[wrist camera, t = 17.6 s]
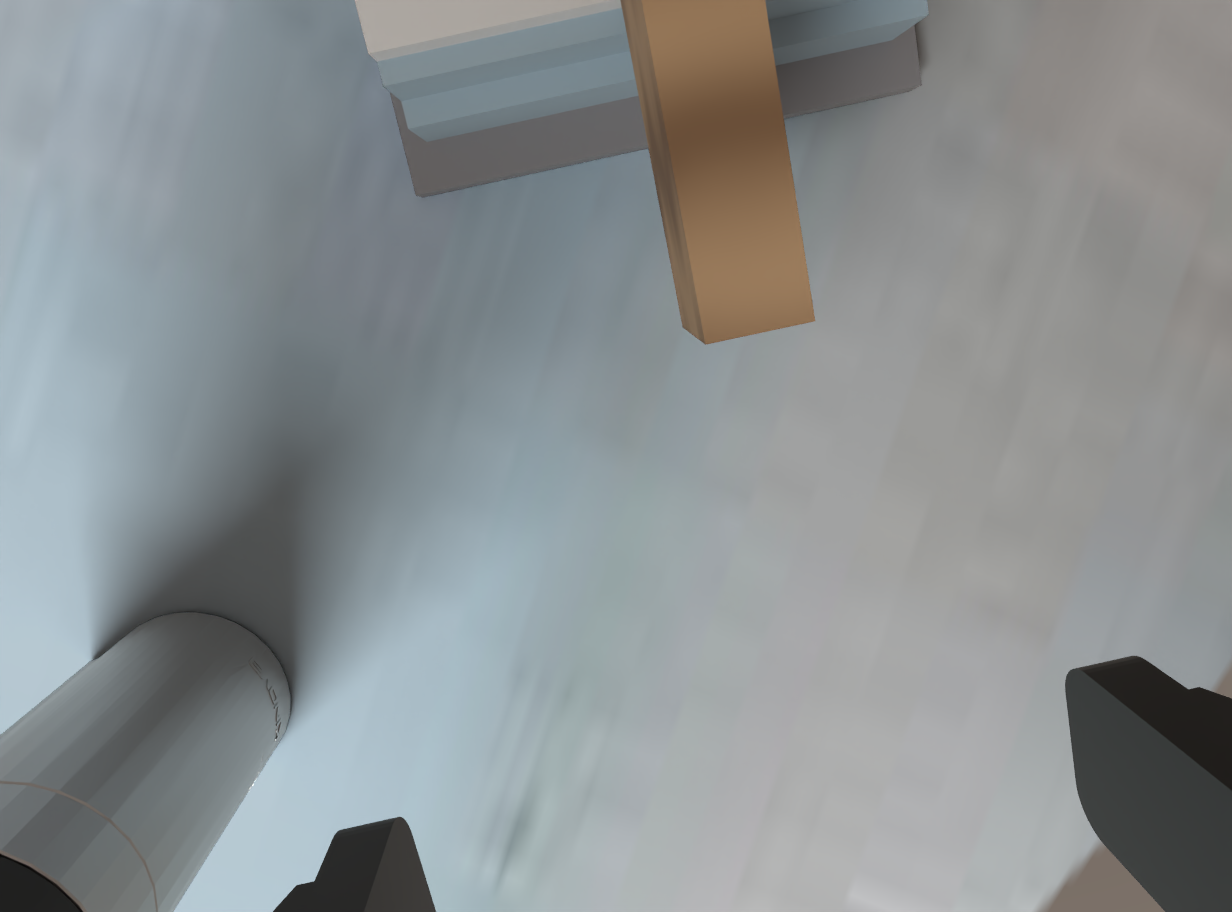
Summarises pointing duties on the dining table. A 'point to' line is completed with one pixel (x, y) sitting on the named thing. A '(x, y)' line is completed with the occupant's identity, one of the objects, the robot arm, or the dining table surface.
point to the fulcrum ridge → (591, 76)
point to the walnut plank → (720, 164)
